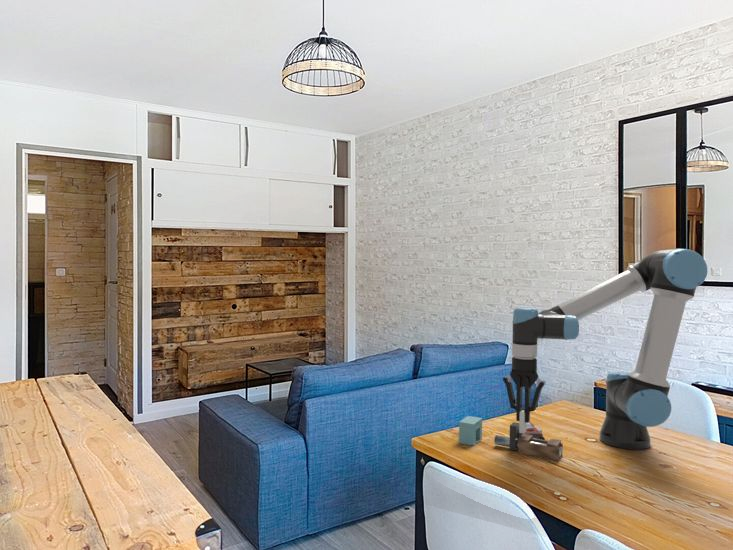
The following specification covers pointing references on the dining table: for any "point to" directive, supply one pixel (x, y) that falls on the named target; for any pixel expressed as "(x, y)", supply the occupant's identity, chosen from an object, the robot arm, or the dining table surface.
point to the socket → (470, 430)
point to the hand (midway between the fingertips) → (522, 431)
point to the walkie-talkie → (533, 431)
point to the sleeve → (539, 447)
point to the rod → (514, 439)
